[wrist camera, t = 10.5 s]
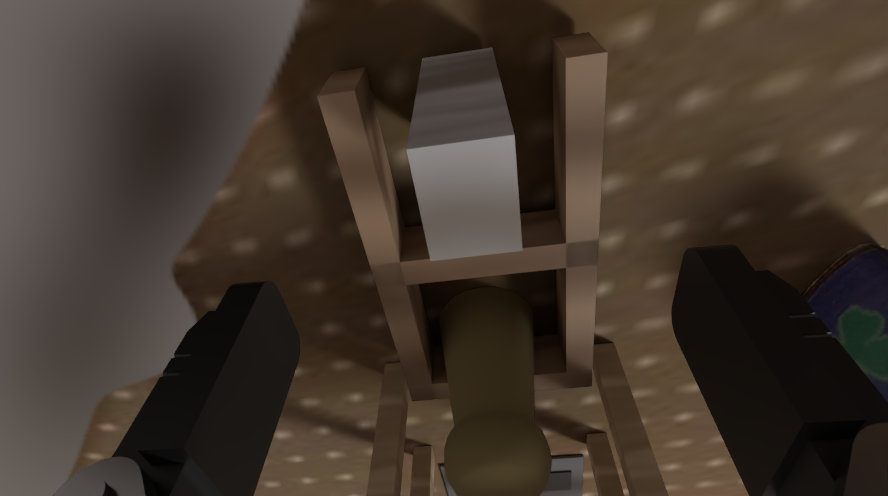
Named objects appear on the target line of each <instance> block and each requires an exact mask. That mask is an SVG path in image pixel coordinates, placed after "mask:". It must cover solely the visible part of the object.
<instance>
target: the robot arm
mask: <svg viewBox="0 0 888 496" xmlns="http://www.w3.org/2000/svg"><path fill="white" fill-rule="evenodd" d="M672 325H673V330H674V333H675V336H676V339H677V341H678V343H679V346H680V348H681V350H682V352H683V354H684V356H685V358H686V361H687V363H688V365H689V367H690V369H691V371H692V374H693V376H694V378H695V380H696V382H697V384H698V386H699V389H700V391H701V393H702V395H703V397H704V399H705V402H706V404H707V406H708V408H709V410H710V412H711V414H712V417H713V419H714V421H715V423H716V425H717V427H718V430H719V432H720V434H721V436H722V438H723V440H724V442H725V445H726V447H727V449H728V451H729V453H730V455H731V458H732V460H733V462H734V464H735V466H736V468H737V470H738V473H739V475H740V477H741V479H742V481H743V483H744V486H745V488H746V490H747V492H748V494H749V496H888V402H887V400H886V399H885V398H884V397H883V395H882V394H881V393H880V392H879V391H878V389H877V388H876V387H875V386H874V384H873V383H872V382H871V381H870V379H869V378H868V377H867V376H866V374H865V373H864V372H863V371H862V370H861V368H860V367H859V366H858V365H857V363H856V362H855V361H854V360H853V358H852V357H851V356H850V355H849V353H848V352H847V351H846V350H845V349H844V347H843V346H842V345H841V344H840V342H839V341H838V340H837V339H836V338H832V336H831V331H830V330H829V329H828V328H827V326H826V325H825V324H824V323H823V321H822V320H821V319H820V318H819V317H817V318H816V316H815V312H814V310H813V309H812V308H811V307H810V305H809V304H808V303H807V302H806V300H805V299H804V298H803V297H802V295H801V294H800V293H799V292H798V291H797V289H795V288H794V287H792V286H791V285H789V284H788V283H786V282H785V281H783V280H782V279H780V278H779V277H777V276H776V275H774V274H773V273H771V272H770V271H768V270H765V271H755V270H754V269H753V267H752V266H751V265H750V263H749V262H748V261H747V259H746V258H745V257H744V255H743V254H742V253H741V251H740V250H739V249H738V248H737V247H736V246H734V245H722V246H710V247H697V248H689V249H687V250H686V251H685V253H684V256H683V259H682V264H681V268H680V273H679V277H678V282H677V286H676V291H675V295H674V300H673V304H672ZM174 355H175V357H174V358H172V359H171V360H170V362H169V363H168V365H167V367H166V368H165V370H164V371H163V377H160V378H159V380H158V381H157V383H156V385H155V386H154V388H153V390H152V391H151V393H150V395H149V396H148V398H147V400H146V401H145V403H144V405H143V406H142V408H141V410H140V411H139V413H138V415H137V416H136V418H135V420H134V421H133V423H132V425H131V426H130V428H129V430H128V431H127V433H126V435H125V436H124V438H123V440H122V441H121V443H120V445H119V446H118V448H117V450H116V451H115V453H114V454H113V456H112V457H110V458H106V459H103V460H100V461H97V462H95V463H93V464H91V465H89V466H87V467H85V468H84V469H82V470H80V471H79V472H77V473H76V474H75V475H73V476H72V477H71V478H69V479H68V480H67V481H66V482H65V483H64V484H63V485H62V486H61V487H60V488H59V489H58V490H57V491H56V492H55V493H54V495H53V496H253V495H254V492H255V489H256V486H257V483H258V480H259V477H260V474H261V471H262V468H263V465H264V462H265V459H266V456H267V454H268V451H269V448H270V445H271V442H272V439H273V436H274V433H275V430H276V427H277V424H278V421H279V418H280V415H281V412H282V409H283V406H284V403H285V400H286V397H287V394H288V391H289V388H290V385H291V382H292V379H293V376H294V373H295V370H296V367H297V364H298V360H299V356H300V340H299V335H298V332H297V329H296V327H295V325H294V323H293V321H292V318H291V316H290V314H289V312H288V310H287V307H286V305H285V303H284V301H283V299H282V297H281V294H280V292H279V290H278V288H277V286H276V285H275V284H274V283H273V282H271V281H264V282H252V283H240V284H233V285H231V286H230V287H229V288H228V290H227V291H226V293H225V295H224V297H223V299H222V300H221V302H220V304H219V306H218V307H217V309H216V311H209V312H208V313H206V314H205V315H204V316H203V317H202V318H201V319H200V320H199V321H198V322H197V323H196V324H195V325H194V326H193V327H192V328H191V329H189V330H188V332H187V333H186V335H185V336H184V338H183V340H182V341H181V343H180V345H179V346H178V348H177V350H176V351H175V353H174Z"/></svg>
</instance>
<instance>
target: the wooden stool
mask: <svg viewBox="0 0 888 496" xmlns="http://www.w3.org/2000/svg"><path fill="white" fill-rule="evenodd" d="M593 371H594V375H595V378H596V382H597V385H598V388H599V392H600V395H601V399H602V402H603V405H604V409H605V412H606V416H607V419H608V422H609V426H610V429H611V433H612V436H613V439H614V443H615V446H616V450H617V453H618V456H619V460H620V463H621V467H622V470H623V473H624V477H625V480H626V484H627V487H628V490H629V494H630V496H668V493H667V490H666V487H665V485H664V482H663V479H662V476H661V473H660V471H659V468H658V465H657V462H656V459H655V457H654V454H653V451H652V448H651V445H650V443H649V440H648V437H647V434H646V431H645V429H644V426H643V423H642V420H641V417H640V415H639V412H638V409H637V406H636V403H635V401H634V398H633V395H632V392H631V389H630V387H629V384H628V381H627V378H626V375H625V373H624V370H623V367H622V364H621V361H620V359H619V356H618V353H617V350H616V348H615V345H614V343H606V344H595V345H594V347H593ZM408 398H409V388H408V385H407V382H406V379H405V375H404V372H403V369H402V366H401V363H400V362H399V363H388V364H385V367H384V374H383V381H382V389H381V396H380V403H379V410H378V417H377V424H376V431H375V438H374V446H373V453H372V460H371V467H370V474H369V481H368V488H367V495H366V496H400V492H401V480H402V468H403V457H404V445H405V433H406V421H407V410H408ZM586 445H587V449H588V453H589V457H590V461H591V465H592V469H593V474H594V478H595V482H596V486H597V490H598V494H599V496H624V493H623V490H622V486H621V483H620V479H619V476H618V472H617V469H616V465H615V462H614V458H613V455H612V451H611V448H610V444H609V441H608V437H607V434H606V433H596V434H587V444H586ZM434 457H435V455H434V452H433V449H432V446H419V447H414V448H413V463H412V477H411V492H410V496H433V490H434ZM551 458H552V468H551V475H550V478H549V482H548V484H547V486H546V488H545V490H544V491H543V492H542V494H541V495H540V496H582V485H583V458H584V457H583V455H573V456H558V457H551ZM440 468H441V471H442V475H443V478H444V481H445V485H446V488H447V491H448V495H449V496H457V495H456V493H455V492H454V490H453V489H452V487H451V485H450V484H449V482H448V480H447V478H446V474H445V470H444V464H443V465H440Z"/></svg>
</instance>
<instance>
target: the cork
mask: <svg viewBox="0 0 888 496" xmlns="http://www.w3.org/2000/svg"><path fill="white" fill-rule="evenodd" d="M440 333H441V340H442V346H443V353H444V360H445V366H446V373H447V380H448V386H449V393H450V400H451V406H452V413H453V420H454V428H453V429H452V431H451V432H450V434H449V436H448V438H447V441H446V445H445V452H444V470H445V474H446V478H447V480H448V482H449V484H450V485H451V487H452V489H453V490H454V492H455V493H456V495H457V496H540V495H541V494H542V492H543V491H544V490H545V488H546V486H547V484H548V482H549V478H550V475H551V468H552V458H551V453H550V448H549V446H548V443H547V440H546V438H545V436H544V433H543V431H542V429H540V428H539V427H538V426H537V425H536V424H535V410H534V317H533V314H532V310H531V307H530V306H529V305H528V304H527V302H526V301H525V300H524V299H523V298H522V297H520V296H519V295H517V294H515V293H514V292H512V291H509V290H505V289H501V288H497V287H480V288H475V289H471V290H467V291H464V292H463V293H461V294H459V295H457V296H455V297H453V298H452V299H451V300H450V301H449V302H448V303H447V304H446V305H445V306H444V308H443V310H442V312H441V315H440Z"/></svg>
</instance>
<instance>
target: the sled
mask: <svg viewBox="0 0 888 496" xmlns="http://www.w3.org/2000/svg"><path fill="white" fill-rule="evenodd" d="M607 53H608V52H607V51H606V50H605V49H604V48H603V47H602V46H601V45H600V44H599V43H598V41H597V40H596V39H595V38H594V37H593V36H592V35H591V34H590V33H589V32H587V33H581V34H575V35H568V36H562V37H555V38H552V62H553V118H554V174H555V209H554V210H546V211H538V212H529V213H521V214H520V206H519V191H518V177H517V163H516V148H515V135H514V131H513V127H512V123H511V119H510V115H509V111H508V107H507V103H506V99H505V95H504V92H503V88H502V84H501V80H500V76H499V72H498V68H497V64H496V60H495V56H494V53H493V49H492V47H491V48H485V49H479V50H472V51H466V52H459V53H453V54H447V55H440V56H434V57H427V58H422V63H421V68H420V74H419V80H418V86H417V92H416V97H415V103H414V109H413V115H412V120H411V126H410V132H409V138H408V143H407V149H406V150H407V154H408V159H409V164H410V168H411V173H412V178H413V182H414V187H415V191H416V196H417V201H418V205H419V210H420V215H421V219H422V224H423V225H422V226H413V227H404V223H403V219H402V214H401V210H400V206H399V202H398V198H397V194H396V190H395V186H394V182H393V178H392V173H391V169H390V165H389V161H388V157H387V153H386V149H385V145H384V141H383V137H382V132H381V128H380V124H379V120H378V116H377V112H376V108H375V104H374V100H373V96H372V92H371V87H370V83H369V79H368V75H367V71H366V67H363V68H357V69H351V70H344V71H338V72H332V73H331V75H330V76H329V78H328V80H327V81H326V83H325V84H324V86H323V87H322V89H321V90H320V92H319V93H318V95H317V99H318V102H319V105H320V108H321V111H322V114H323V118H324V121H325V124H326V127H327V130H328V134H329V137H330V140H331V143H332V146H333V149H334V153H335V156H336V159H337V162H338V165H339V169H340V172H341V175H342V178H343V181H344V184H345V188H346V191H347V194H348V197H349V200H350V204H351V207H352V210H353V213H354V216H355V219H356V223H357V226H358V229H359V232H360V235H361V239H362V242H363V245H364V248H365V251H366V255H367V258H368V261H369V264H370V267H371V270H372V274H373V277H374V280H375V283H376V286H377V290H378V293H379V296H380V299H381V302H382V305H383V309H384V312H385V315H386V318H387V321H388V325H389V328H390V331H391V334H392V337H393V340H394V344H395V347H396V350H397V353H398V356H399V360H400V363H401V366H402V369H403V372H404V375H405V379H406V382H407V385H408V388H409V391H410V395H411V398H412V401H420V400H432V399H444V398H450V393H449V386H448V380H447V373H446V366H445V360H444V353H443V346H434V345H433V341H432V337H431V333H430V329H429V325H428V321H427V317H426V313H425V309H424V305H423V300H422V296H421V292H420V288H419V284H422V283H431V282H440V281H449V280H459V279H468V278H477V277H486V276H496V275H505V274H514V273H523V272H533V271H542V270H551V269H556V285H557V335H548V336H537V337H534V391H540V390H552V389H564V388H576V387H588V386H592V368H593V347H594V326H595V305H596V284H597V263H598V242H599V221H600V200H601V179H602V158H603V137H604V116H605V95H606V74H607Z"/></svg>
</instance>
